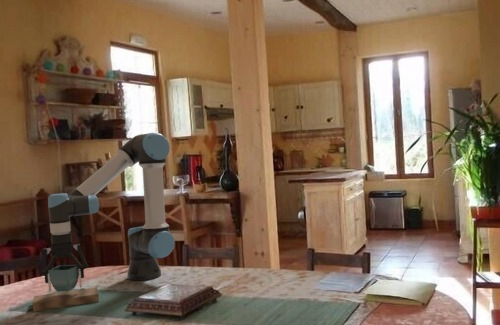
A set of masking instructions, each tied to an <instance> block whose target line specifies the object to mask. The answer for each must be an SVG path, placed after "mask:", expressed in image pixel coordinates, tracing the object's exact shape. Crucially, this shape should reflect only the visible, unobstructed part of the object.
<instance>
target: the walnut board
mask: <svg viewBox="0 0 500 325" xmlns="http://www.w3.org/2000/svg"><path fill="white" fill-rule="evenodd" d="M97 302H100V296H99V290H98V288H97V287H89V288H81V289H75V290H70V291H59V292H55V293H47V294H41V295H34V296H33V301H32V311H33V312H39V311H40V312H41V311H44V310H51V309H59V308H66V307H72V306H77V305H78V306H79V305H83V304H84V305H85V304H86V305H87V304H93V303H97Z"/></svg>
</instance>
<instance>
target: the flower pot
mask: <svg viewBox="0 0 500 325" xmlns="http://www.w3.org/2000/svg"><path fill="white" fill-rule="evenodd" d="M79 270H80V269H79V267H78V266H77V265H76V264H73V265H72V264H71V265H70V264H67V265H66V264H64V265H58V266H55V267H53V268H51V269H50V270H48V272H49V273H48V274H49V276H50V281H51V287H53V289H54V290H55V291H56V292H57V293H60V292H67V291H72V290H73V289H75V288H76V286H77V284H78V283H79V282H78V281H79Z"/></svg>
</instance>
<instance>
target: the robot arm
mask: <svg viewBox="0 0 500 325" xmlns="http://www.w3.org/2000/svg"><path fill="white" fill-rule="evenodd" d="M170 150H171V148H170V142H169V140H168V139H167V137H166V136H165V135H164V134H161V133H157V132H148V133H140V134H137V135H134V136H133V137H131V138H130V139H129V140H128V141H126V143H125V144H124V145H122V146H121V147H120V148H119V149H118V150H117V151H116V154H115V155H114V156H113V157H112V158H110V159H109V160H108V161H107V162H106V163H105V164H103V165H102V166H101V167H100V168H98V169H97V170H96V171H95V172H94V173H92V175H90V176H89V177H88V178H87V179H86V180H85V181H84V182H82V183H81V184H80V185H79V186H78V187H76V188H75V189H74V190H72V191H71V192H69V194H68V193H66V192H65V193H64V192H63V193H53V194H50V195H48V197H47V200H48V201H47V208H48V216H49V218H48V219H49V228H50V229H49V231H50V234H51V235H50V241H51V243H50V244H51V247H48V248H47V247H44V248H43V257H42V261H41V263H40V268H39V274H40V275H43V276H44V282H45V284H47V285H48V293H50V292H52V284H51V281H50V276H49V272H48V270H51V269H52V267H53V266H54V263H55V262H56V260H57V258H59V259H60V258H62V257H64V258H66V257H67V258H68V257H69V258H70V259H71V260H72V261H73V263H74V265H77V266H78V267H79V278H78V281H79V282H78V283H79V288H83V283H82V279H84V278H85V269H88V268H89V264H88V263H87V260H86V257H85V256H84V254H83V251H82V249H81V245H80V243H78V244H73V241H72V233H71V231H72V229H71V217H76V216H77V217H78V216H84V215H92V214H96V213H98V211H99V209H100V201H99V199H98V196H97V195H98V194H99V192H101V191H102V190H104V189H105V187H107V186H108V185H109V184H111V182H112V181H114V180H115V179H116V178H117V177H119V176H120V175H121V174H122V173H123V172H124V171H125V170H126V169H128V168H133V166H135V165H137V163H138V166H140V167H141V168H142V180H143V199H144V200H143V201H144V219H145V221H144V222H145V223H144V225H142V226H137V227H132V228H129V229H128V231H127V238H128V240H127V241H128V249H129V251H128V252H129V265H128V268H127V275H126V276H127V279H128V280H129V281H145V280H146V281H147V280H151V279H155V278H158V277H161V276H162V270H161V267H160V265H159V262H158V260H157V259H158V258H159V259H163V258H166V257H168V256H169V255H170V254H171V253H172V252H173V250H174V247H175V245H176V244H175V237H174V236H173V234H172V233H171V232H170V224H168V223H167V222H166V211H165V207H166V206H165V192H164V190H165V188H164V170H163V168H164V166H166V163H167V161H166V160H167V158H166V157H167V156H168V155H169V153H170ZM74 249H75V250H76V251H77V253H78V256H79V257H80V259H81V261H82V263H83V264H81V262H80V261H79V260H78V259H77V258H76V256H75V255H74V254H73V253H72V251H73V250H74ZM50 252H52V253H53V256H52V257H51V259H50V261H49V263H48V265H47V267H46V269H45V265H46V262H47V258H48V255H49V254H50ZM44 269H45V270H44Z"/></svg>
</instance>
